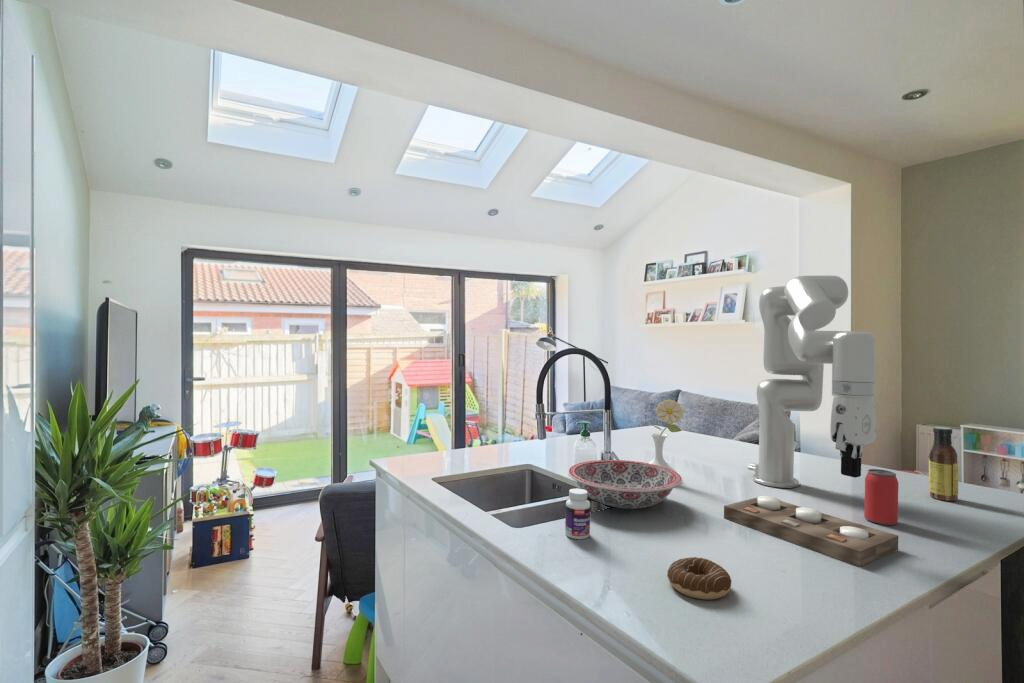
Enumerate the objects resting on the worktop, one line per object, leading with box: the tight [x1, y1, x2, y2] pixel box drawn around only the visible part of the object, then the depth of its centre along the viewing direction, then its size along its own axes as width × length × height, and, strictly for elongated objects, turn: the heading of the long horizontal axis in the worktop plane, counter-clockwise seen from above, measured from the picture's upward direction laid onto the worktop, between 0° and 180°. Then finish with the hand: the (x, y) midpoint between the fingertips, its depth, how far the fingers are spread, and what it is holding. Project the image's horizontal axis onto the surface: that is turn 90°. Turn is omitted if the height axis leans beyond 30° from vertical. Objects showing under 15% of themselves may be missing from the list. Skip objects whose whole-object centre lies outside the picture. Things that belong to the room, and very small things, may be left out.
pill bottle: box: [564, 488, 591, 540], centre depth 111 cm, size 5×5×10 cm
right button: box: [840, 526, 868, 540], centre depth 107 cm, size 5×5×2 cm
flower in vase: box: [648, 398, 685, 473], centre depth 156 cm, size 13×11×25 cm
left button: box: [756, 495, 781, 511], centre depth 124 cm, size 5×5×2 cm
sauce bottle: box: [928, 426, 959, 502], centre depth 141 cm, size 7×6×20 cm
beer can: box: [863, 468, 899, 526], centre depth 123 cm, size 7×7×12 cm
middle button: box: [796, 506, 822, 524], centre depth 115 cm, size 5×5×2 cm
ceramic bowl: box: [567, 459, 683, 510], centre depth 133 cm, size 29×29×8 cm
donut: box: [666, 556, 732, 601], centre depth 89 cm, size 11×11×4 cm
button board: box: [723, 496, 899, 568], centre depth 115 cm, size 30×16×3 cm, turn 31°
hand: (850, 475), depth 108 cm, fingers closed
